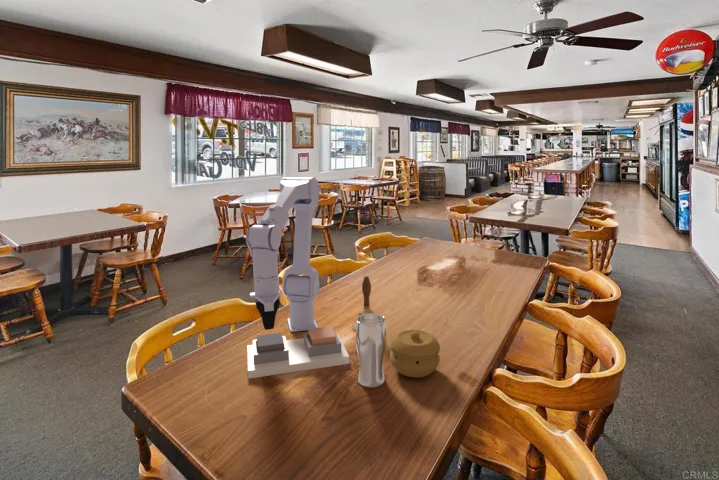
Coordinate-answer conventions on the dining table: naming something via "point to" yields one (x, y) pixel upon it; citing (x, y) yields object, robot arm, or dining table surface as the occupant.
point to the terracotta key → (321, 336)
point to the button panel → (295, 357)
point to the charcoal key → (269, 342)
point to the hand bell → (365, 298)
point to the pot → (414, 353)
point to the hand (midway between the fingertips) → (269, 328)
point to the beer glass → (371, 348)
